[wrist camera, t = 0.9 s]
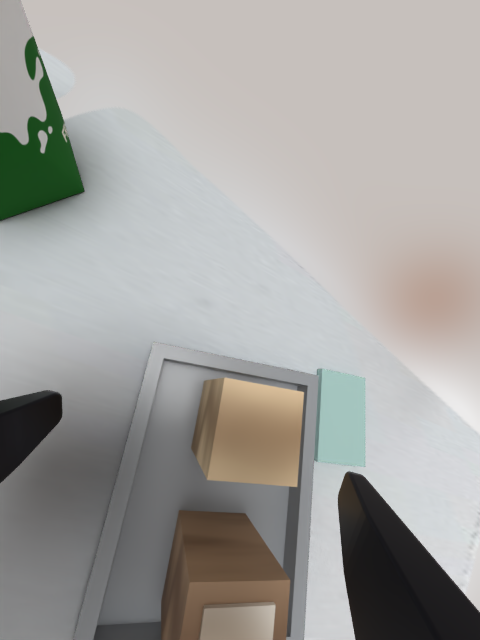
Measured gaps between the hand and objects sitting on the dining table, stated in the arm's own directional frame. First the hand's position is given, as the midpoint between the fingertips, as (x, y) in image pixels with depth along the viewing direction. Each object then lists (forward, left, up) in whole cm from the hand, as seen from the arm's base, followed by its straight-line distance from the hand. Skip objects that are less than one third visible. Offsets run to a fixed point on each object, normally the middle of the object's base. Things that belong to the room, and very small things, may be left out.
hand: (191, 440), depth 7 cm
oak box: (0, -5, -12) cm, 13 cm away
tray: (-5, -5, -13) cm, 15 cm away
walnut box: (-9, -5, -12) cm, 16 cm away
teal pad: (+1, -16, -13) cm, 20 cm away
